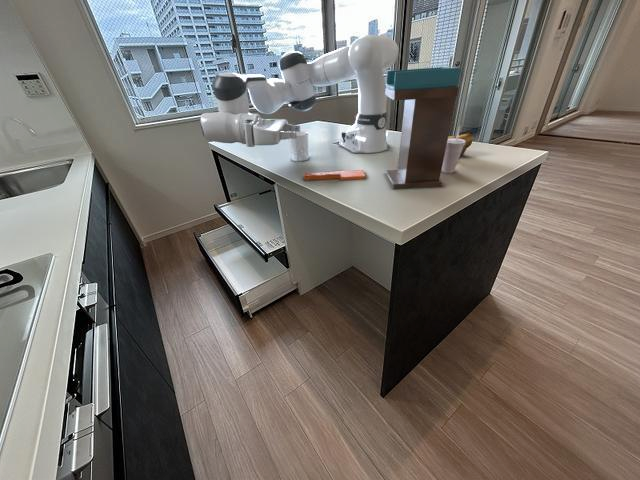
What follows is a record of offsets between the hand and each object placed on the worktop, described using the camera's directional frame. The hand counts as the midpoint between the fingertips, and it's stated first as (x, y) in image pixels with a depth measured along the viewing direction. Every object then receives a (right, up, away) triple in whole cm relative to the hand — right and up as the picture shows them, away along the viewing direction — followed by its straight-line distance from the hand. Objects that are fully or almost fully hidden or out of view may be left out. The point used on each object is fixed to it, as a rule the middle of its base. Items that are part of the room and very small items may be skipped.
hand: (298, 131), depth 80 cm
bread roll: (+56, -1, +19) cm, 59 cm away
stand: (+34, -15, +2) cm, 37 cm away
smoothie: (+49, -11, +6) cm, 51 cm away
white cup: (-1, 0, +28) cm, 28 cm away
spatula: (+11, -12, +8) cm, 18 cm away
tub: (+32, +6, -13) cm, 35 cm away
